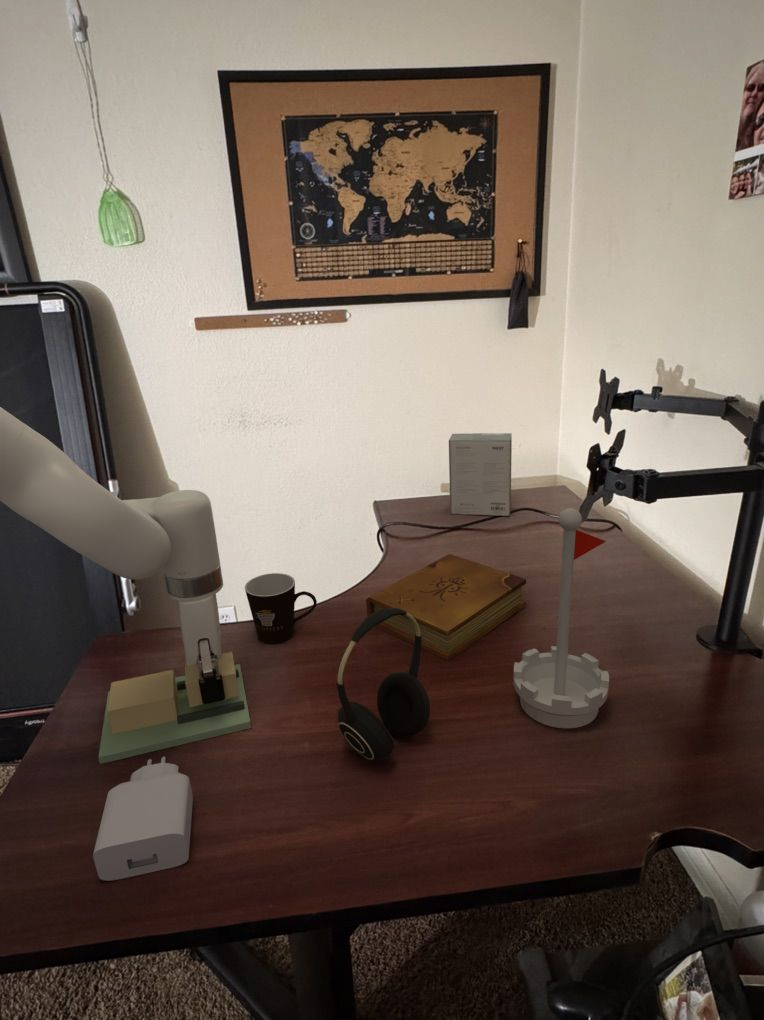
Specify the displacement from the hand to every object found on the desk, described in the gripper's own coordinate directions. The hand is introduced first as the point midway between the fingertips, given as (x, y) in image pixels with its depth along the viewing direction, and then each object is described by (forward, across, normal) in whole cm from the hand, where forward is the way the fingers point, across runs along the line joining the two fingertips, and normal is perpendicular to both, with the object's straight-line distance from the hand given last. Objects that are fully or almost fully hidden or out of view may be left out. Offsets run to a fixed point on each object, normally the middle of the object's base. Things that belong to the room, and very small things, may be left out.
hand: (212, 686), depth 93 cm
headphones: (+3, +17, +22) cm, 28 cm away
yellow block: (+1, 0, 0) cm, 1 cm away
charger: (+3, +20, -8) cm, 22 cm away
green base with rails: (+3, 0, -6) cm, 6 cm away
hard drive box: (+3, -57, +72) cm, 91 cm away
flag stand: (+3, +18, +48) cm, 51 cm away
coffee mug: (+3, -15, +12) cm, 20 cm away
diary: (+3, -11, +42) cm, 44 cm away
